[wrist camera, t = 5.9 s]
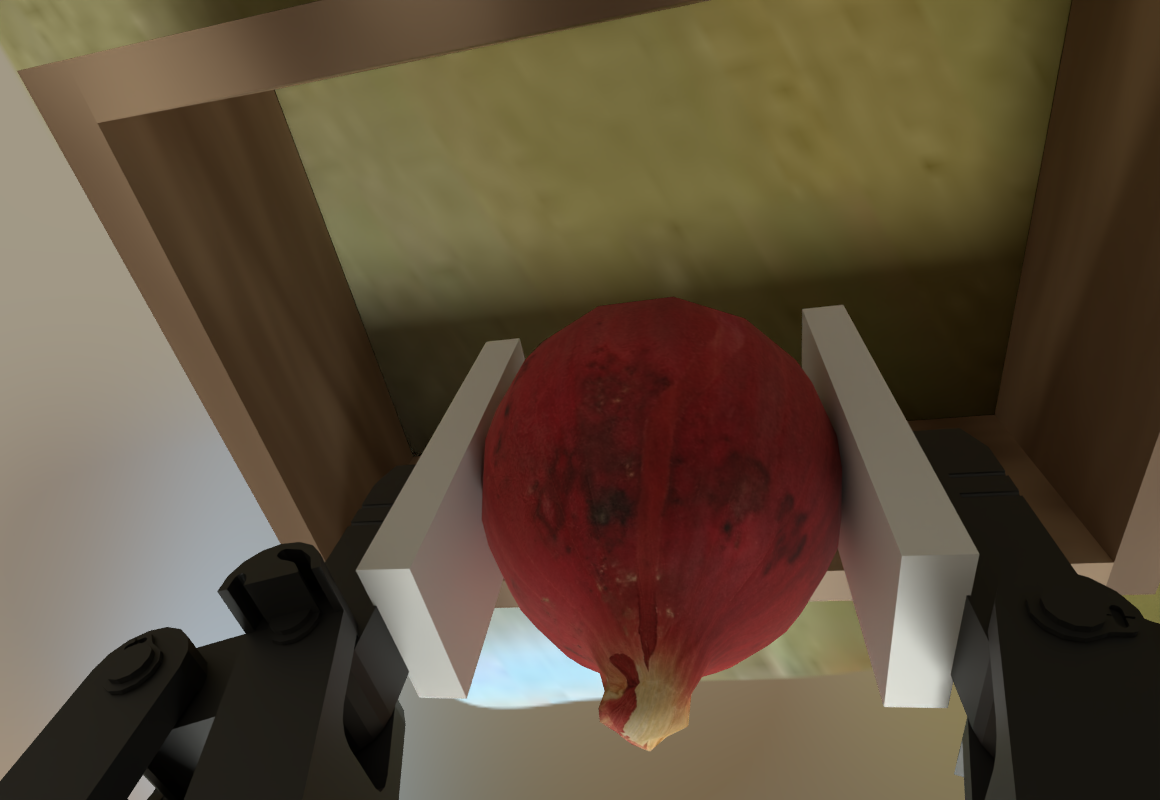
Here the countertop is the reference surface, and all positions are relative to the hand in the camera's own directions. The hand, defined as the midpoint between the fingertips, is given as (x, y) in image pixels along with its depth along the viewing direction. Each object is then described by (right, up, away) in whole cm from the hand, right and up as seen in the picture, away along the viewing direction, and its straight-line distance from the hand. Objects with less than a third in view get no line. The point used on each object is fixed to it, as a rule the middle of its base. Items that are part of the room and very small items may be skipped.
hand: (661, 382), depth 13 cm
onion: (0, 0, 0) cm, 1 cm away
